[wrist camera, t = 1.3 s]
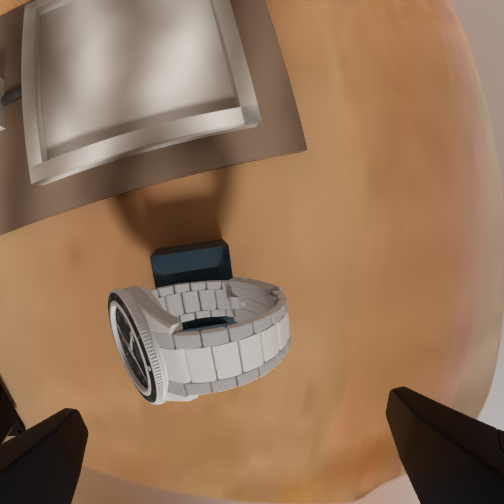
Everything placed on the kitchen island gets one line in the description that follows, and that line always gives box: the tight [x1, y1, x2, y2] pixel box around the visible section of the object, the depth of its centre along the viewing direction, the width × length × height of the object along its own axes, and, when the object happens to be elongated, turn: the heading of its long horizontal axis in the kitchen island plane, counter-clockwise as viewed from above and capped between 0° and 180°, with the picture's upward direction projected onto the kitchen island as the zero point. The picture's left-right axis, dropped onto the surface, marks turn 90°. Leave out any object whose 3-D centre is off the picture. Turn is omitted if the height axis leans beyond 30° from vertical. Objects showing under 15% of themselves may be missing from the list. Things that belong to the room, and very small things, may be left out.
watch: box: [108, 239, 291, 404], centre depth 16 cm, size 6×8×11 cm
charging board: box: [0, 0, 307, 235], centre depth 16 cm, size 24×18×4 cm
